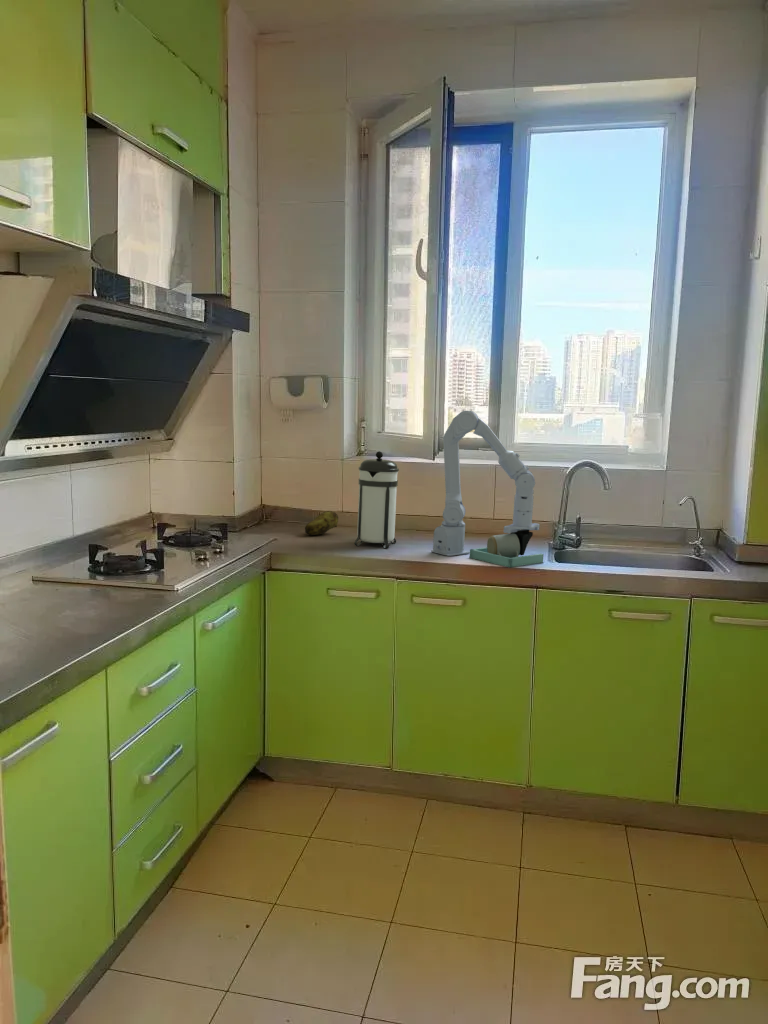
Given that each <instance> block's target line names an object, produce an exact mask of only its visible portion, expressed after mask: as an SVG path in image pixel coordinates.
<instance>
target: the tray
mask: <svg viewBox="0 0 768 1024" xmlns="http://www.w3.org/2000/svg"><path fill="white" fill-rule="evenodd" d="M469 552H470V553H469V559H474V560H479V561H483V562H486V563H490V564H494V565H498V566H504V567H506V568H515V567H520V566H527V565H529V566H530V565H535V564H541V563H544V553H535V554H530V555H519V556H518V557H513V558H508V557H504V556H500V555H495V554H491V553H488V551H487V546H486V547H479V548H471V549H469Z"/></svg>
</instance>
